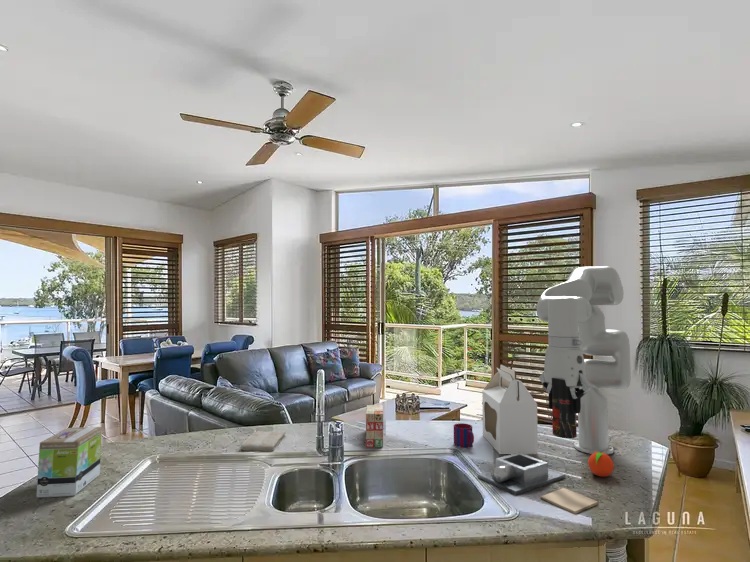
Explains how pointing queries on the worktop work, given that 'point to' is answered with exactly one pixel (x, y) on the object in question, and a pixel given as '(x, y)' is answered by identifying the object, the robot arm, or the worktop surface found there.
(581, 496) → the coaster
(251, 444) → the washcloth
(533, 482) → the grey square holder
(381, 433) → the stack of blocks
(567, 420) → the deodorant
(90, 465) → the tea box
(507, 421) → the gable box
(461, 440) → the mug
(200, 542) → the worktop surface
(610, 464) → the clementine
